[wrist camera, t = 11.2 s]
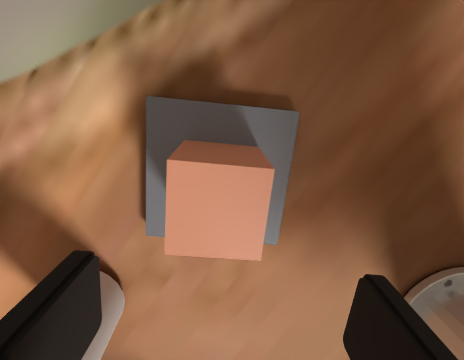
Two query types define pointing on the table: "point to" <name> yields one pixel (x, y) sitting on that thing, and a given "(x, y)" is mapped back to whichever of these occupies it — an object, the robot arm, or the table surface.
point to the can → (106, 316)
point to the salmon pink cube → (217, 200)
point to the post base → (217, 131)
